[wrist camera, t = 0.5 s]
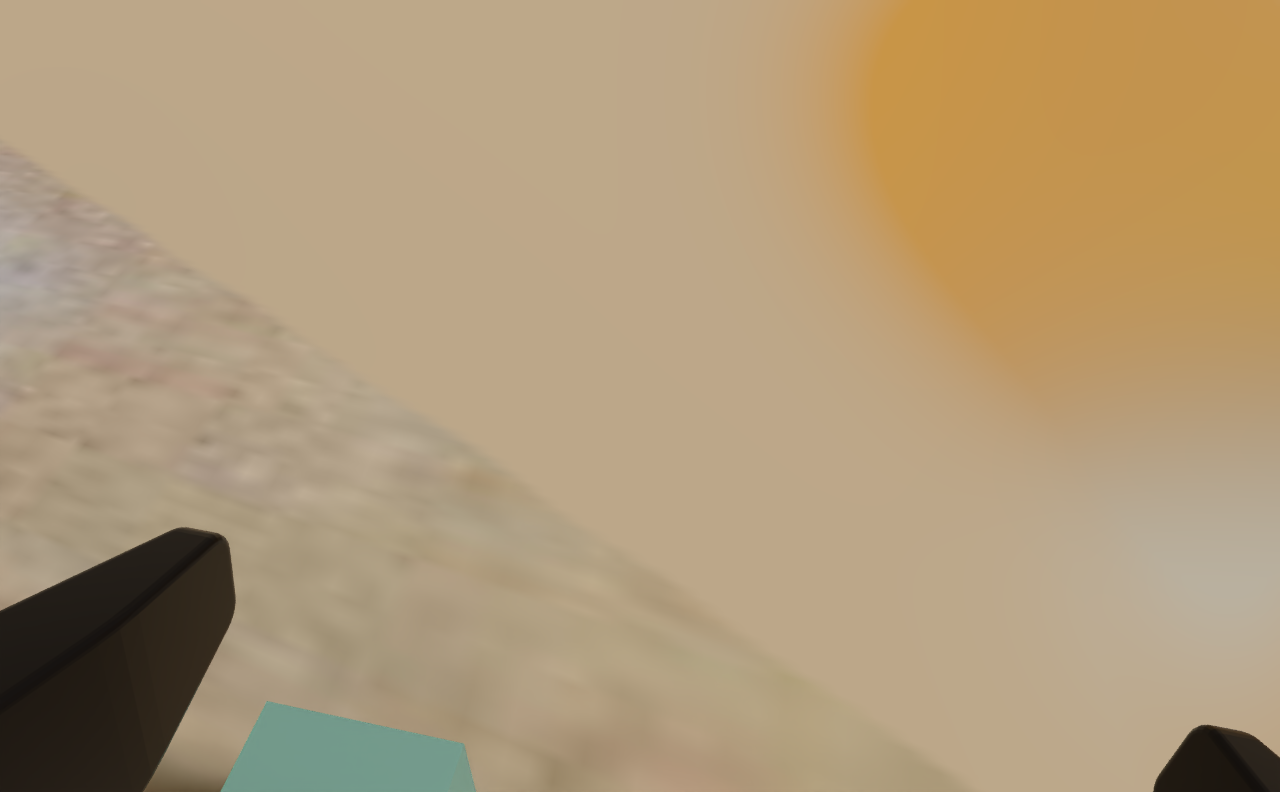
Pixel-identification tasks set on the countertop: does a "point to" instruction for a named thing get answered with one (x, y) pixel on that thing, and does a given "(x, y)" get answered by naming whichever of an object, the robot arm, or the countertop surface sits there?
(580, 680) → the countertop surface
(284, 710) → the pillar block
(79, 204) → the countertop surface
